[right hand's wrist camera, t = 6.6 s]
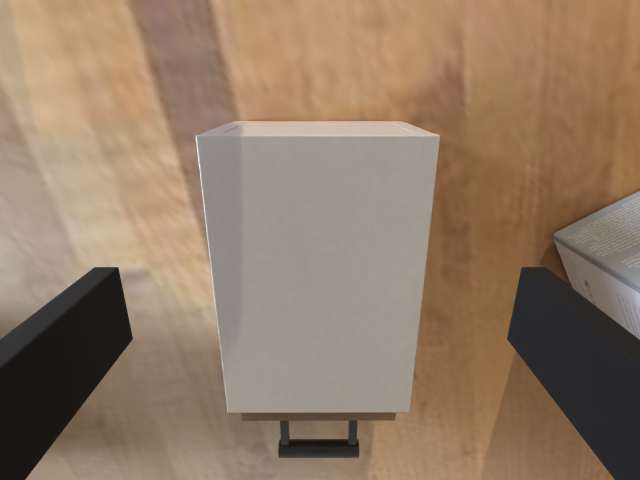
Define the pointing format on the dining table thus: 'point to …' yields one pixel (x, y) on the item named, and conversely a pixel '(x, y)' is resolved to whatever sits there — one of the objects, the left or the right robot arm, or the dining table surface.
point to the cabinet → (318, 260)
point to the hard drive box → (606, 260)
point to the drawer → (318, 446)
